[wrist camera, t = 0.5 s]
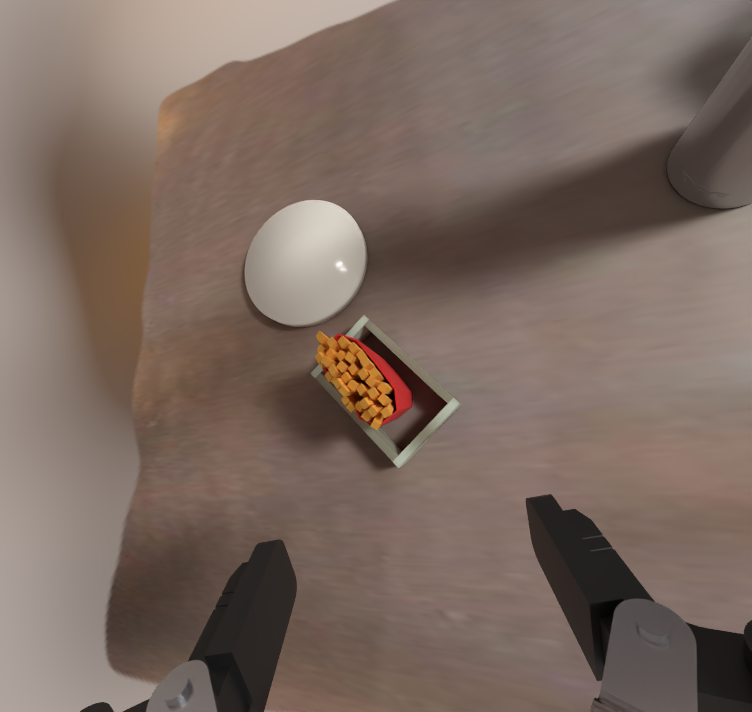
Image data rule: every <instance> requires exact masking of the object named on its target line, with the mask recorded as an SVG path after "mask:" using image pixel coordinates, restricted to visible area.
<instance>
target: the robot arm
mask: <svg viewBox="0 0 752 712" xmlns="http://www.w3.org/2000/svg"><path fill="white" fill-rule="evenodd" d="M667 173H668V177H669V180H670V182H671V184H672V186H673V187H674V189H675V190H676V191H677V192H678V193H679V194H680V195H681V196H683V197H684V198H686V199H687V200H689V201H691V202H693V203H696V204H698V205H701V206H706V207H710V208H723V209H725V208H735V207H740V206H744V205H748V204H751V203H752V37H751V38H750V40H749V41H748V43H747V44H746V45H745V47H744V48H743V50H742V51H741V52H740V54H739V55H738V57H737V58H736V60H735V61H734V62H733V64H732V65H731V67H730V68H729V70H728V71H727V72H726V74H725V75H724V77H723V78H722V79H721V81H720V82H719V84H718V85H717V87H716V88H715V89H714V91H713V92H712V94H711V95H710V96H709V98H708V99H707V101H706V102H705V104H704V105H703V106H702V108H701V109H700V111H699V112H698V113H697V115H696V116H695V118H694V119H693V120H692V122H691V123H690V125H689V126H688V127H687V129H686V130H685V132H684V133H683V135H682V136H681V137H680V139H679V140H678V142H677V143H676V145H675V146H674V148H673V149H672V151H671V153H670V155H669V158H668V161H667ZM526 507H527V514H528V521H529V528H530V534H531V540H532V544H533V548H534V551H535V554H536V557H537V559H538V561H539V563H540V565H541V568H542V570H543V572H544V574H545V576H546V578H547V580H548V582H549V584H550V586H551V588H552V590H553V592H554V594H555V596H556V598H557V600H558V602H559V604H560V606H561V608H562V610H563V612H564V614H565V616H566V618H567V620H568V623H569V625H570V627H571V629H572V631H573V633H574V635H575V637H576V639H577V641H578V643H579V645H580V647H581V649H582V651H583V653H584V655H585V657H586V659H587V661H588V663H589V665H590V667H591V669H592V671H593V673H594V675H595V677H596V680H597V681H601V680H602V684H601V690H600V694H599V697H598V699H597V698H594V700H593V702H592V705H591V709H590V712H752V620H751V621H750V622H748V623H747V625H746V626H745V630H744V634H738V633H732V632H726V631H720V630H714V629H708V628H703V627H698V626H695V625H692V624H689V623H687V622H685V621H684V620H683V619H682V618H681V617H680V616H679V615H677V614H676V613H675V612H673V611H672V610H670V609H669V608H667V607H665V606H663V605H662V604H659V603H657V602H655V601H654V600H653V599H652V598H651V596H650V595H649V594H648V593H647V591H646V590H645V589H644V587H643V586H642V585H641V584H640V582H639V581H638V580H637V578H636V577H635V576H634V574H633V573H632V572H631V571H630V569H629V568H628V567H627V565H626V564H625V563H624V561H623V560H622V559H621V558H620V556H619V555H618V554H617V552H616V551H615V550H613V549H612V546H611V545H610V543H609V542H608V541H607V539H606V538H605V537H603V535H602V533H601V532H600V530H599V529H598V528H597V527H596V525H595V524H594V523H593V521H592V520H591V519H589V518H588V517H586V516H585V515H583V514H582V513H580V512H579V511H577V510H576V509H571V510H565V511H563V510H562V509H561V507H560V506H559V504H558V503H557V501H556V500H555V498H554V497H553V496H552V495H551V494H549V495H543V496H537V497H531V498H526ZM296 591H297V583H296V576H295V573H294V570H293V567H292V564H291V562H290V559H289V556H288V553H287V550H286V548H285V545H284V543H283V541H282V540H274V541H268V542H262V543H258V544H257V545H256V547H255V549H254V551H253V553H252V555H251V557H250V559H249V561H248V562H245V563H242V564H241V566H240V567H239V568H238V569H237V570H236V571H235V572H234V573H233V575H232V576H231V577H230V579H229V580H228V582H227V584H226V586H225V588H224V590H223V592H222V596H220V598H219V600H218V602H217V604H216V609H215V610H213V612H212V614H211V616H210V618H209V620H208V622H207V624H206V626H205V628H204V630H203V632H202V634H201V636H200V638H199V640H198V642H197V644H196V646H195V648H194V650H193V652H192V654H191V656H190V658H189V660H188V662H186V663H184V664H182V665H180V666H178V667H177V668H175V669H174V670H173V671H171V672H170V673H169V674H168V675H167V676H166V677H165V678H164V679H163V680H162V681H161V682H160V684H159V685H158V686H157V687H156V689H155V691H154V692H153V694H152V696H151V698H150V699H148V700H146V701H144V702H142V703H140V704H138V705H136V706H134V707H131V708H129V709H127V710H125V711H123V712H264V709H265V705H266V702H267V698H268V695H269V691H270V687H271V684H272V680H273V677H274V673H275V670H276V666H277V662H278V659H279V655H280V652H281V648H282V644H283V641H284V637H285V634H286V630H287V627H288V623H289V619H290V616H291V612H292V609H293V605H294V601H295V598H296ZM80 712H114V711H113V710H112V708H111V707H110V705H109V704H108V703H104V702H101V703H96V704H93V705H91V706H88V707H87V708H85V709H83V710H82V711H80Z"/></svg>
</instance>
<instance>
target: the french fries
mask: <svg viewBox="0 0 752 712" xmlns="http://www.w3.org/2000/svg"><path fill="white" fill-rule="evenodd" d="M316 338H317V339H318V341H319V342H320V343H321V344H320V345H319V347H318V349H317V351H318V353H317V355H316V356H315V358H316V359H317V362H318V364H319V365H320V366H321V367H322V369H323V370H324V371H325V372H326V374H325V377H326V379H327V380H328V382H332V383H333V384H334V385H335V387H336V388H337V390H338V391H339V393H341V394H342V395H343V398H342V399H341V401H342V402H343V404H344V405H345V406H346V408H347V409H348V410H349V411H350V412H351V413H352V412H355V411H356V413H357V415H358V417H359V419H360V420H362V421H365V422H368V423H371V426H370V427H372V428H374V429H375V430H378V429H379V427H380V426H382V425H384V424H387V423H389V422H391V421H393V420H396V419H398V418H399V417H400V416H401V415H403V414H404V413H405V412H406V411H407V410H409V409H410V408H411V407H412V392H411V390H410V389H409V388H408V386H407V385H406V383H405V382H404V381H403V380H402V378H401V377H400V376H399V375H398V373H397V372H396V371H395V370H394V369H393V368H392V366H391V365H390V364H389V363H388V362H387V361H386V360H384V359H383V358H382V357H380V356H379V355H378V354H376V353H375V352H374V351H372V350H371V349H369V348H368V347H367V346H365V345H364V344H363V343H361V342H360V341H359V340H357V339H355V338H352V337H348V336H345V335H341V334H337V335H336V336H335V337H334V338H333V337H331V338H329V337H327V336H326V335H325V334H323V333H322V332H321V331H319V332H318V334H317V336H316ZM322 344H323V345H322Z"/></svg>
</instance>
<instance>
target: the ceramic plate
mask: <svg viewBox="0 0 752 712" xmlns="http://www.w3.org/2000/svg"><path fill="white" fill-rule="evenodd" d="M367 263H368V252H367V245H366V241H365V238H364V236H363V234H362V232H361V230H360V228H359V226H358V225H357V223H356V222H355V220H354V219H353V218H352V216H351V215H350V214H349V213H348V212H346V211H345V210H344V209H342V208H341V207H339V206H337V205H335V204H333V203H330V202H327V201H321V200H308V201H302V202H298V203H295V204H292V205H289V206H287V207H285V208H283V209H282V210H280V211H279V212H277V213H276V214H274V215H273V216H272V217H271V218H270V219H268V220H267V221H266V223H265V224H264V225H263V226H262V227H261V228H260V230H259V231H258V232H257V234H256V236H255V237H254V239H253V241H252V243H251V245H250V248H249V250H248V253H247V257H246V262H245V283H246V287H247V291H248V293H249V296H250V298H251V300H252V302H253V303H254V305H255V306H256V307H257V308H258V309H259V310H260V311H261V312H262V313H263V314H264V315H266V316H267V317H269V318H271V319H273V320H275V321H277V322H279V323H281V324H283V325H287V326H291V327H310V326H315V325H318V324H321V323H324V322H326V321H328V320H330V319H332V318H333V317H335V316H336V315H338V314H339V313H340V312H342V311H343V310H344V309H345V308H346V307H347V306H348V305H349V304H350V303H351V301H352V300H353V299H354V298H355V296H356V294H357V293H358V291H359V290H360V287H361V285H362V283H363V281H364V278H365V275H366V270H367Z"/></svg>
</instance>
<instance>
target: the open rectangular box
mask: <svg viewBox="0 0 752 712" xmlns="http://www.w3.org/2000/svg"><path fill="white" fill-rule="evenodd" d="M371 332H372V333H373V334H374V335H375V336H376V337H377V338H378V339H379V340H380V341H381V342H383V343H384V344H385V345H386V346H387V347H388V348H389V349H390V350H391V351H392V352H393V353H394V354H395V355H396V356H397V357H399V358H400V359H401V360H402V361H403V362H404V363H405V364H406V365H407V366H408V367H409V368H410V369H411V370H412V371H413V372H415V373H416V374H417V375H418V376H419V377H420V378H421V379H422V380H423V381H424V382H425V383H426V384H427V385H428V386H429V387H431V388H432V389H433V390H434V391H435V392H436V393H437V394H438V395H439V396H440V397H441V398H442V399H443V400H444V401H445V402H447V403H448V404H447V405H446V406H445V407H444V408H443V409H442V410H441V411H440V412H439V413H438V415H437V416H436V417H435V418H434V419H433V420H432V421H431V422H430V423H429V424H428V425H427V426H426V427H425V428H424V429H423V430H422V431H421V432H420V433H419V434H418V436H417V437H416V438H415V439H414V440H413V441H412V442H411V443H410V444H409V445H408V446H407V447H406V448H405V449H404V450H403V451H402V450H401V449H400V448H399V447H398V446H397V445H396V444H395V443H394V442H393V441H392V440H391V439H390V438H389V437H388V436H387V435H386V434H385V433H384V431H383V430H382V429H381V428H380V427H379V429H378V430H375V429H374V428H372V427H370V426H371V423H368V422H365V421H362V420H360V419H359V417H358V415H357V413H356V411H355V412H352V413H351V412H350V411H349V410H348V409H347V408H346V406H345V405H344V404H343V402H342V401H341V399H342V398H343V395H342V394H341V393H339V391H338V390H337V388H336V387H335V385H334V384H333V383H332V382H328V380H327V379H326V377H325V374H326V372H325V371H324V370H323V369H322V367H321V366H320V365H318V366H317V367H316V368H315V369H314V370H313V371H312V372H311V374H312V375H313V377H314V378H315V379H316V380H317V381H318V382H319V383H320V384H321V385H322V386H323V387H324V388H325V389H326V391H327V392H328V393H329V394H330V395H331V396H332V397H333V398H334V399H335V400H336V401H337V402H338V403H339V405H340V406H341V407H342V408H343V409H344V410H345V411H346V412H347V413H348V414H349V415H350V416H351V417H352V419H353V420H354V421H355V422H356V423H357V424H358V425H359V426H360V427H361V428H362V429H363V430H364V431H365V433H366V434H367V435H368V436H369V437H370V438H371V439H372V440H373V441H374V442H375V443H376V444H377V445H378V447H379V448H380V449H381V450H382V451H383V452H384V453H385V454H386V455H387V456H388V457H389V458H390V460H391V461H392V462H393V463H394V464H395V465H396V466H397V467H398V468H399V467H401V466H403V465H405V463H406V462H407V461H408V460H409V459H410V458H411V457H412V456H413V455H414V454H415V453H416V452H417V451H418V450H419V449H420V448H421V447H422V446H423V445H424V444H425V443H426V441H427V440H428V439H429V438H430V437H431V436H432V435H433V434H434V433H435V432H436V431H437V430H438V429H439V428H440V427H441V426H442V425H443V424H444V423H445V422H446V421H447V419H448V418H449V417H450V416H451V415H452V414H453V413H454V412H455V411H456V410H457V409H458V408H459V407H460V406H461V404H460V403H459V402H458V401H457V400H456V399H454V398H453V397H452V396H451V395H450V394H449V393H448V392H447V391H446V390H445V389H444V388H443V387H441V386H440V385H439V384H438V383H437V382H436V381H435V380H434V379H433V378H432V377H431V376H430V375H428V374H427V373H426V372H425V371H424V370H423V369H422V368H421V367H420V366H419V365H418V364H417V363H416V362H414V361H413V360H412V359H411V358H410V357H409V356H408V355H407V354H406V353H405V352H404V351H403V350H401V349H400V348H399V347H398V346H397V345H396V344H395V343H394V342H393V341H392V340H391V339H390V338H388V337H387V336H386V335H385V334H384V333H383V332H382V331H381V330H380V329H379V328H378V327H377V326H375V325H374V324H373V323H372V322H371V321H370V320H369V319H368V318H367V317H366V316H365V315H363V316H362V317H361V319H360V320H359V321H358V322H357V323H356V324H355V325H354V326H353V327H352V328H351V330H350V331H349V332H348V333H347V334H346V335H345V336H348V337H352V338H355V339H357V340H359V341H360V342H361V343H362V342H363V341H364V340H365V339H366V338H367V337H368V335H369V334H370V333H371Z"/></svg>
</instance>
